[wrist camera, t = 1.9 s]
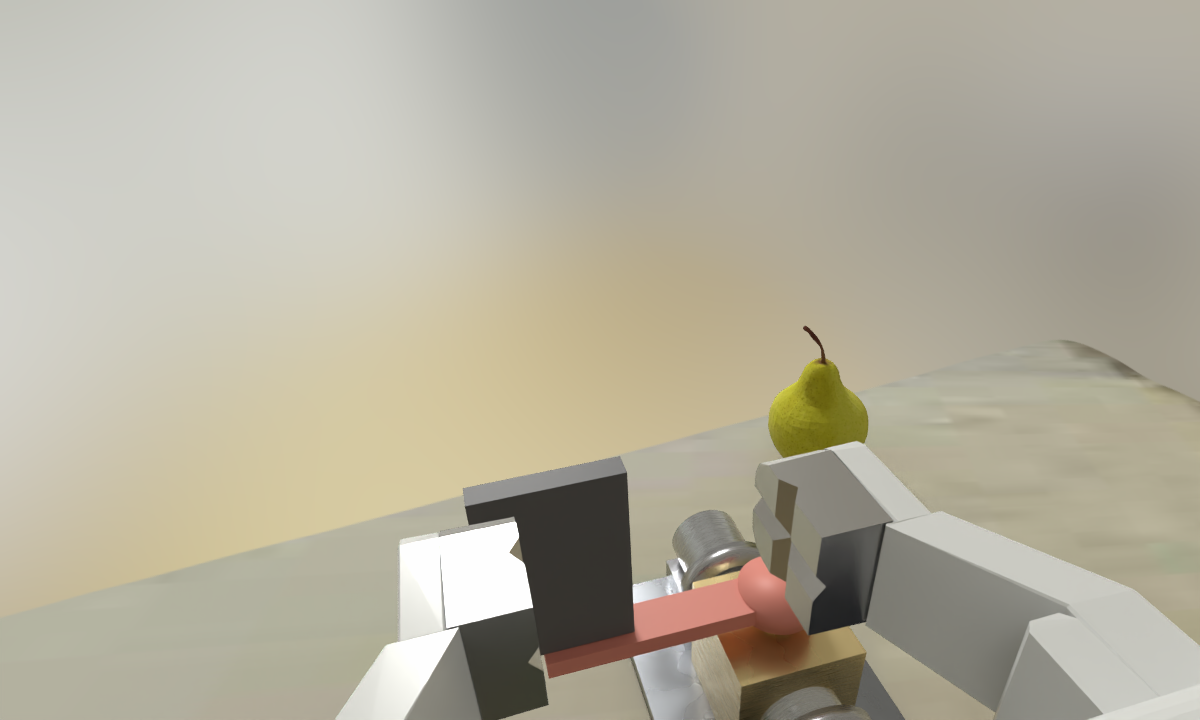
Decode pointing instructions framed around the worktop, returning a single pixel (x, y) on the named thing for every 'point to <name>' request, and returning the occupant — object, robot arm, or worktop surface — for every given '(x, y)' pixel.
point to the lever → (610, 572)
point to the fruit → (816, 411)
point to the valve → (750, 651)
